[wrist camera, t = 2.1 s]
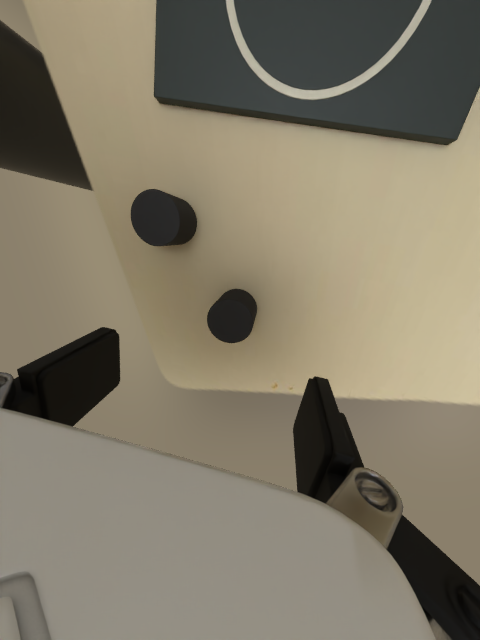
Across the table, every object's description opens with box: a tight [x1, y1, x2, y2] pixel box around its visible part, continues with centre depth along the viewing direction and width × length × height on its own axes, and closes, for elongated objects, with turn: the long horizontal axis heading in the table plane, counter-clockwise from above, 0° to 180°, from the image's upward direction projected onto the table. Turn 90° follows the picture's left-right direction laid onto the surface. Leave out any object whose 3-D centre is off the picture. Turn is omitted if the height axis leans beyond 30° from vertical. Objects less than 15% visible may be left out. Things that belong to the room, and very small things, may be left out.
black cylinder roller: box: [131, 189, 197, 246], centre depth 19 cm, size 4×4×4 cm
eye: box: [207, 289, 257, 343], centre depth 21 cm, size 4×4×4 cm
